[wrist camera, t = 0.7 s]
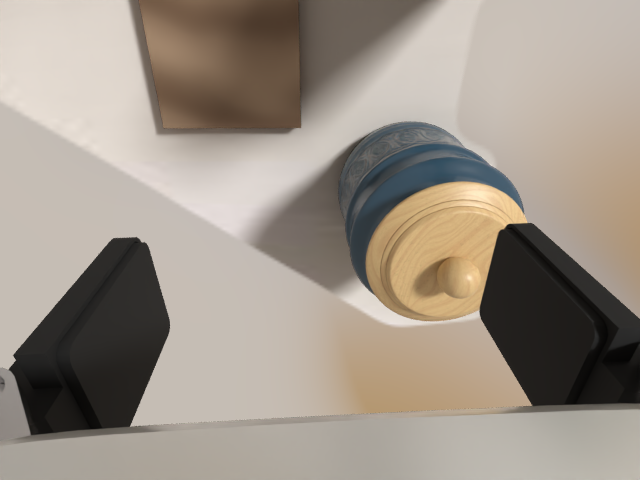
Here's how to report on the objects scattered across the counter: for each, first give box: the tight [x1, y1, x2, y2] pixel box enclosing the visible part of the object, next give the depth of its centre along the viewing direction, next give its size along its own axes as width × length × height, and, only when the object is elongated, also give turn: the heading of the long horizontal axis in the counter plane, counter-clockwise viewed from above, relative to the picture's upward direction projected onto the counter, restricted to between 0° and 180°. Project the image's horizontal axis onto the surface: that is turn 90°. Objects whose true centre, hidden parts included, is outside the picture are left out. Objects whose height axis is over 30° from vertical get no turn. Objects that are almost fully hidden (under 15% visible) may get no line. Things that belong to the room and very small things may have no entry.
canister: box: [338, 122, 527, 321], centre depth 31 cm, size 13×13×18 cm
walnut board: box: [139, 0, 301, 128], centre depth 30 cm, size 18×12×2 cm, turn 0°
